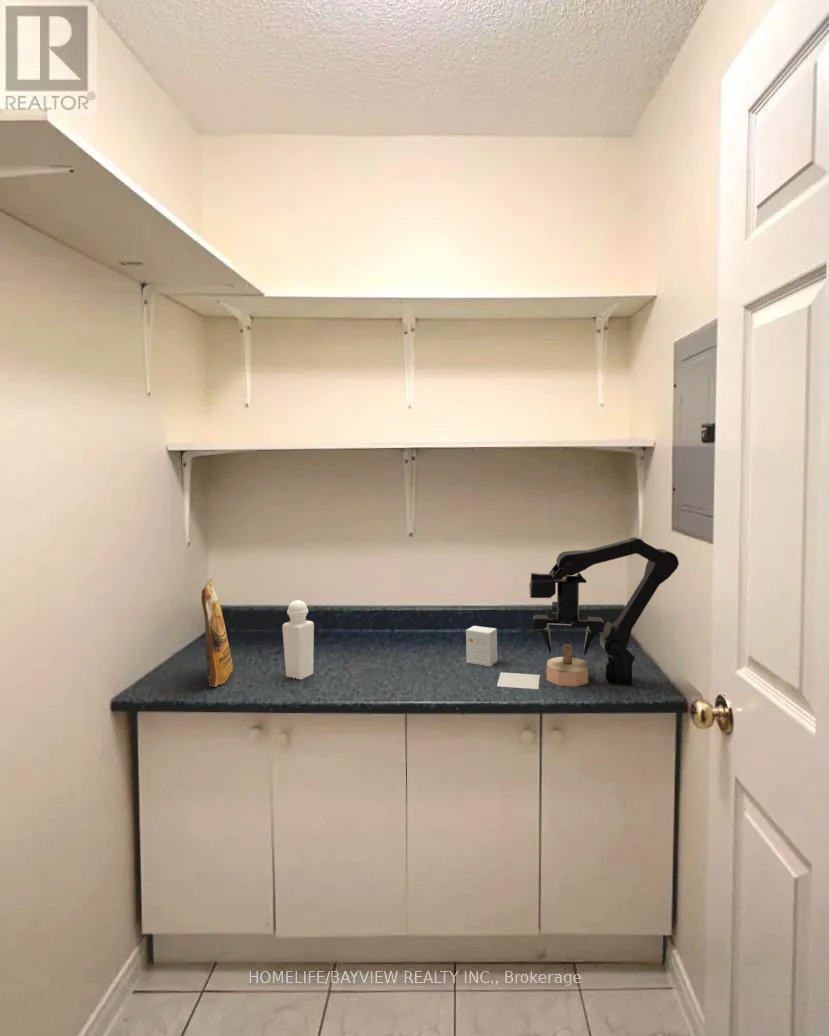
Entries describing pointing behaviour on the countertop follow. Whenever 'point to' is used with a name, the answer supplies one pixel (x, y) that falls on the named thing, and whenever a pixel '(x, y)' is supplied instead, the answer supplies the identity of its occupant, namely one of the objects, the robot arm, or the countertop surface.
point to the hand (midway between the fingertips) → (567, 653)
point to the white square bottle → (298, 642)
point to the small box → (481, 645)
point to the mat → (518, 680)
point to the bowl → (567, 678)
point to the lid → (567, 662)
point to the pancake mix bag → (215, 638)
